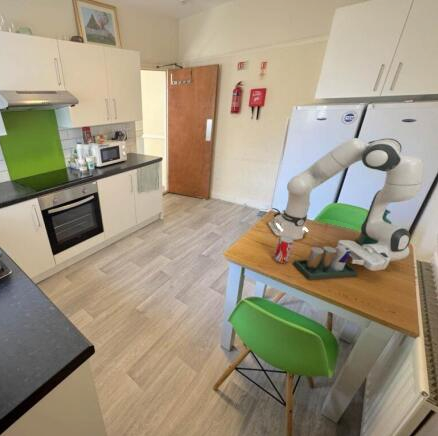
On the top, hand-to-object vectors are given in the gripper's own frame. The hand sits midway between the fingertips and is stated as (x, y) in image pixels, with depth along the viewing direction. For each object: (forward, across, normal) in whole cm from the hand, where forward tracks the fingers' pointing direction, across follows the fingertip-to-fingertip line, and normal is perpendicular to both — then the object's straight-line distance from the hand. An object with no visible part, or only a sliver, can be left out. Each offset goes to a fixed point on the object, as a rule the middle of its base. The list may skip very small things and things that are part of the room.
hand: (343, 255), depth 114 cm
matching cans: (+11, 0, +8) cm, 14 cm away
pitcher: (-33, -18, +8) cm, 38 cm away
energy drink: (+1, 0, +8) cm, 8 cm away
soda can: (+23, -10, +8) cm, 27 cm away
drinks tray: (+7, 0, +8) cm, 11 cm away
